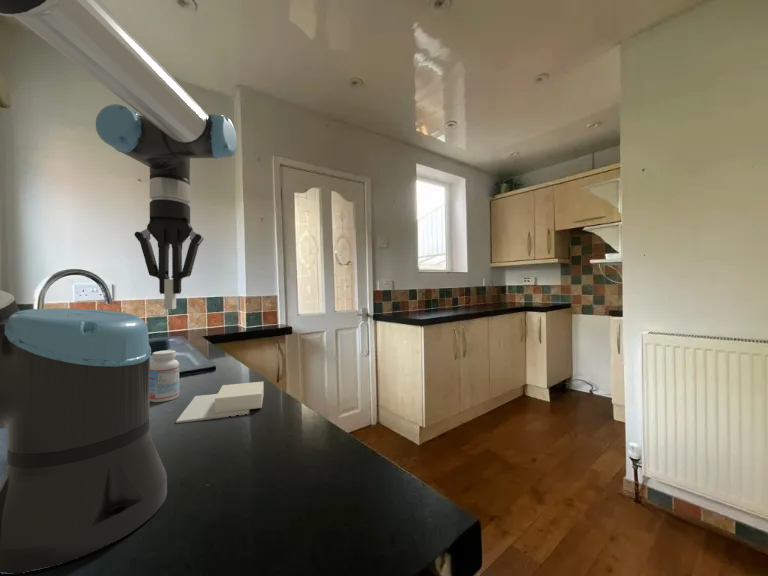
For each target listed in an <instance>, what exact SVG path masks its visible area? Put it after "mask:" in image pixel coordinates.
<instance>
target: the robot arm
mask: <svg viewBox="0 0 768 576" xmlns="http://www.w3.org/2000/svg"><path fill="white" fill-rule="evenodd" d="M0 16H3V17H8V18H9V17H11V18H13V17H14V18H15V19H17V20H18V21H19V22H20V23H22V24H23V25H24V26H25V27H27V28H28V29H30V31H32V32H34V33H35V34H36V35H37V36H39V37H40V38H41V39H43V40H44V41H45V42H46V43H48V45H50V46H51V47H53V48H54V49H56V51H58V52H60V53H61V54H62V55H63V56H64V57H66V58H67V59H68V60H70V61H71V63H73V64H75V65H76V66H77V67H79V68H80V69H81V70H83V71H84V72H85V73H87V74H88V75H89V76H90V77H92V78H93V79H94V80H95V81H97V82H99V84H101V85H102V86H104V87H105V88H106V89H107V90H109V91H110V92H111V93H113V95H115V96H117V97H118V98H119V99H121V100H122V101H123V102H124V103H126V104H127V105H128V106H129V107H131V108H132V109H131V108H129V107H127V106H124V105H122V104H118V103H115V104H114V103H113V104H109V105H106V106H105V107H103V108H102V109H101V110H99V112H98V113H97V116H96V118H95V131H96V132H97V134H98V136H99V138H100V139H101V140H102V142H104V143H106V144H107V145H109V146H111V147H112V148H114V150H116V151H117V152H119V153H121V154H123V155H126V156H127V157H130V158H131V159H132V160H133V159H134V160H135V161H138V162H139V163H141V164H143V165H144V166H147V167H148V168H149V199H150V200H151V201H149V221H148V224H147V225H146V228H145V229H143V230H141V231H135V233H133V234H134V237H135V238H136V239H137V241H138V242H139V243H140V246H141V250H142V255H143V257H144V262H145V265H146V268H147V273H148V275H149V276H150V277H154V278H157V279H158V282H159V284H158V288H159V289H158V290H159V291H158V292H159V294H160V295H163V296H164V297H163V298H164V306H163V307H164V310H175V309H177V294H178V295H180V294H181V293H182V280H183V279H184V278H188V277H189V278H190V276H191V275H192V272H193V269H194V265H195V260H196V258H197V252H198V250H199V246H200V245H201V244H202V242H203V241H204V237H203V236H202V235H201V234H200V233H197V232H195V231H194V228H193V227H192V226H191V206H190V205H189V204H190V203H191V181H190V179H191V159H214V160H215V159H216V160H218V159H221V158H223V159H224V158H231V157H233V156H234V155H235V154H236V152H237V148H238V138H237V132H236V129H235V127H234V125H233V123H232V121H231V119H229V117H227V116H226V115H223V114H216V113H211V114H208V113H207V112H206V111H205V110H204V109H203V108H202V107H201V106H200V105H199V104H198V102H196V101H195V100H194V99H193V97H192V96H190V94H189V93H188V92H187V91H186V90H185V89H184V88H183V86H181V85H180V84H179V83H178V81H177V80H176V79H175V78H174V77H173V76H172V75H171V74H170V73H169V71H168V70H166V69H165V68H164V66H162V64H161V63H160V62H159V61H158V60H157V59H156V58H155V56H154V55H152V54H151V53H150V52H149V50H147V48H146V47H145V46H144V45H143V44H142V43H141V42H140V40H138V38H136V37H135V35H134V34H132V32H131V31H130V30H129V29H128V28H127V26H126V25H124V24H123V22H121V20H120V19H119V17H118V18H117V16H116V15H115V14H114V13H113V12H112V11H111V10H110V9H109V8H108V6H106V4H105V3H104V2H103V1H102V0H0ZM138 113H139V114H138ZM151 236H152V237H153V238H154V240H155V241H156V242H157V247H158V264H157V261H156V256H155V252H154V250H153V246H152V243H151V241H150V240H151ZM187 239H189V240H190V242H189V245H188V248H187V252H186V256H185V259H184V263H183V257H182V256H183V244H184V243H185V242H186V240H187ZM170 245H171V258H172V259H171V260H172V261H171V263H172V264H171V267H172V269H171V270H172V271H171V272H172V273H171V274H172V275H171V277H170V276H169V275H170V274H169V273H170V272H169V271H170V268H169V266H170V265H169V263H170V261H169V260H170ZM151 355H152V348H151V345H150V340H149V328H148V324H147V323H146V322H145V320H143V319H142V318H141V317H140V316H138V315H135V314H132V313H126V312H122V311H115V310H104V309H81V308H67V307H66V308H54V307H53V308H31V309H25V310H20V308H19V306H18V304H17V302H16V299H15V297H14V295H13V294H11V293H9V292H7V291H5V290H4V291H3V290H1V289H0V429H6V431H7V433H6V441H7V442H6V446H7V453H6V454H7V455H6V456H7V459H6V461H7V462H6V463H7V464H6V472H5V475H4V476H3V479H2V481H1V483H0V572H7V573H13V575H21V574H20V573H23V572H26V571H31V570H33V569H39V568H44V567H49V566H50V567H51V566H54V565H57V564H60V563H64V562H67V561H71V560H73V559H75V558H77V557H81V556H84V555H87V554H89V553H91V552H93V553H95V552H94V551H96V552H97V550H98V551H100V550H102V549H103V548H102V547H104V546H106V547H108V546H110V545H112V544H113V542H114V543H116V542H117V540H118V541H120V540H121V539H123V538H125V537H126V536H128V535H130V534H131V533H132V532H134V531H135V530H137V529H138V528H139V527H141V526H142V525H143V524H145V523H147V521H148V520H150V519H151V518H152V517H153V516H154V515H155V514H156V513H157V512H158V510H159V509H160V508H161V507H162V506H163V504H164V503H165V501H166V498H167V495H168V481H167V480H168V476H167V471H166V469H165V466H164V464H163V461H162V460H161V457H160V455H159V453H158V451H157V448H156V445H155V443H154V441H153V439H152V437H151V434H150V401H149V375H150V364H151V363H150V357H151ZM111 543H112V544H111ZM109 544H110V545H109ZM107 545H108V546H107ZM101 548H102V549H101ZM104 548H105V547H104ZM99 549H100V550H99ZM91 554H92V553H91ZM89 555H90V554H89ZM87 556H88V555H87ZM84 557H85V556H84ZM71 562H72V561H71ZM17 573H18V574H17ZM23 574H24V573H23Z"/></svg>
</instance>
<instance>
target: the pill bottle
mask: <svg viewBox="0 0 768 576" xmlns="http://www.w3.org/2000/svg"><path fill="white" fill-rule="evenodd" d="M151 355H152V360H153V362H151V363H150V375H149V402H151V403H163V402H167V401H172V400H175V399H177V398H178V397H179V395H180V362H179V361H178V360H177V359H175V358H176V355H177V353H176V350H172V349H169V350H168V349H167V350H166V349H165V350H159V351H154V352H152V353H151Z"/></svg>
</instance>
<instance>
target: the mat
mask: <svg viewBox="0 0 768 576" xmlns="http://www.w3.org/2000/svg"><path fill="white" fill-rule="evenodd" d="M217 394H218V393H215V394H202V395H195V396H194V397H193V399H192V400H191V401H190V403H189V404H188V405H187V407H186V408H185V409H184V410H183V412H182V413H181V414H180V415H179V416H178V418H177V420H176V421H175V423H176V424H182V423H189V422H196V421H206V420H212V419H213V420H214V419H221V418H229V416H231V417H237V416H236V415H239V416H246V415H245V414H247V415H250V410H251V409H246V410H238V411H229V412H221V413H215V398H216V396H217Z"/></svg>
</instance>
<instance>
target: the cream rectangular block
mask: <svg viewBox="0 0 768 576" xmlns="http://www.w3.org/2000/svg"><path fill="white" fill-rule="evenodd" d="M264 382H265V381H253V382H244V383H234V384H233V383H231V384H222V386H221V387H220V390H219V391H218V392H217V393H216V394H217V396H216V398H215V413H221V412H229V411H238V410H246V409H250V410H254V409H255V410H256V409H262V407H263V399H264V394H265V391H264V390H265V389H264V386H265V385H264Z"/></svg>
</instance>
